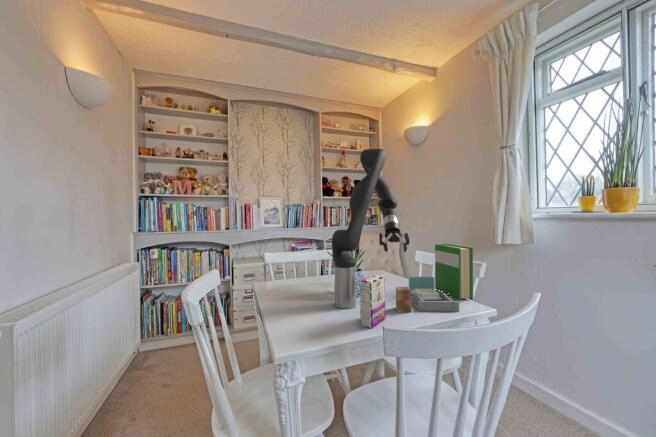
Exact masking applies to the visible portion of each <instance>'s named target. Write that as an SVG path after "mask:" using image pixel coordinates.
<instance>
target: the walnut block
mask: <svg viewBox="0 0 656 437" xmlns="http://www.w3.org/2000/svg"><path fill="white" fill-rule="evenodd" d="M411 296H412V291H411V290H410V288H409V286H395V301H396V302H395V308H396V310H397V312H398V313H412V302H411Z"/></svg>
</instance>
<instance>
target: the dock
mask: <svg viewBox="0 0 656 437" xmlns="http://www.w3.org/2000/svg"><path fill="white" fill-rule="evenodd" d="M438 293H439V294H440V297H441V298H442V300H423V299H422V298H421V297H420V296H419V295H418V294H417V292H416V291H413V292H412V295H411V301H412V302H413V303H412V302H411V303H412V305H414V307H415V306H416V307H415V308H416V309H417V310H418V312H460V301H459V300H455V301H454V299H453V298H452V297H449V296H447V295H445V294H444V293H443V292H441V291H439V292H438Z"/></svg>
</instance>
